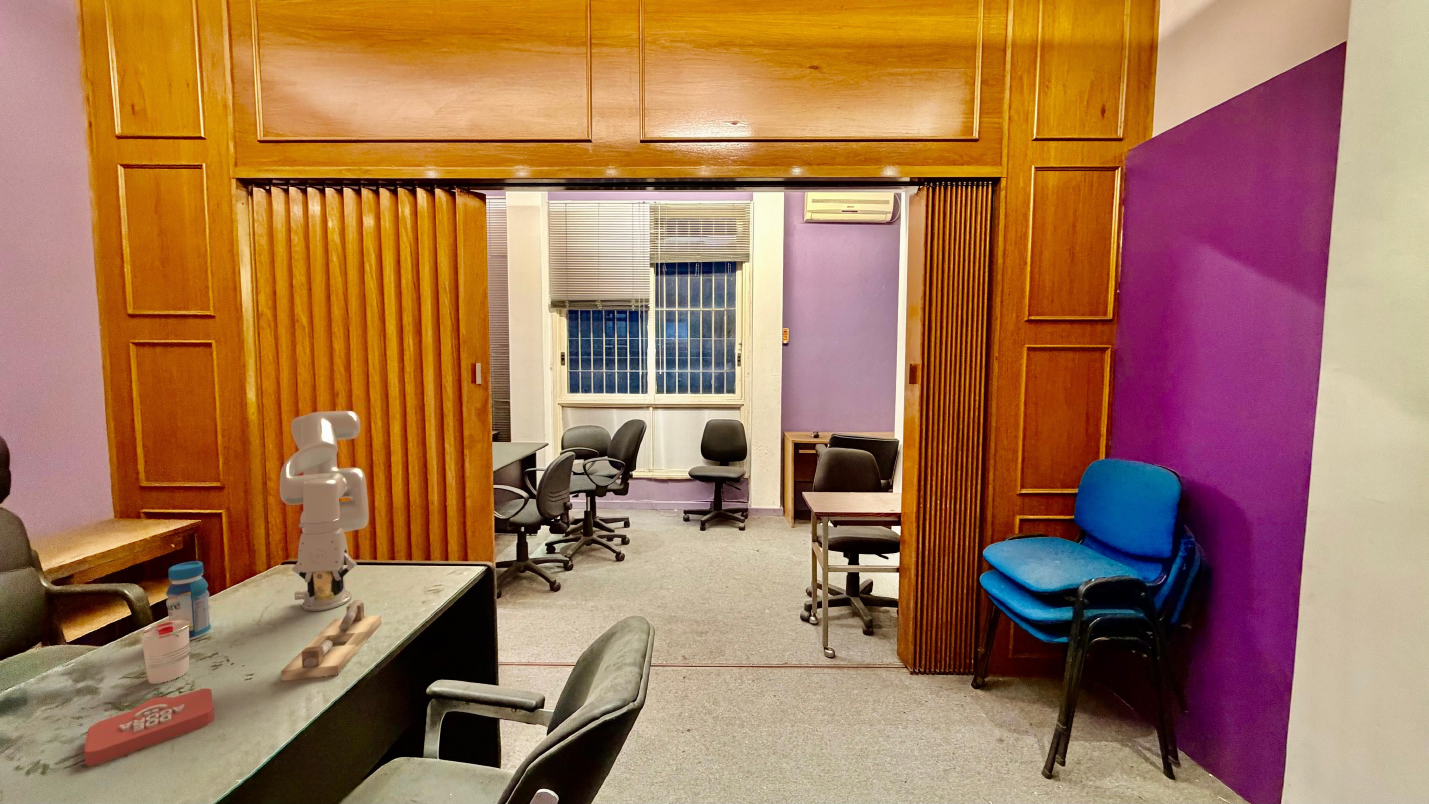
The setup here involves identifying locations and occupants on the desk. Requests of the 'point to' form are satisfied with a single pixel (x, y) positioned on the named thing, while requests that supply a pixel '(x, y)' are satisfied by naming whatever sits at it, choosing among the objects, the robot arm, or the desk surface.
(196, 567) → the blue supplement bottle
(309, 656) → the shaft jig
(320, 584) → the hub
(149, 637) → the striped cup with float
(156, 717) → the plaque
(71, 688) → the desk surface
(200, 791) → the desk surface
